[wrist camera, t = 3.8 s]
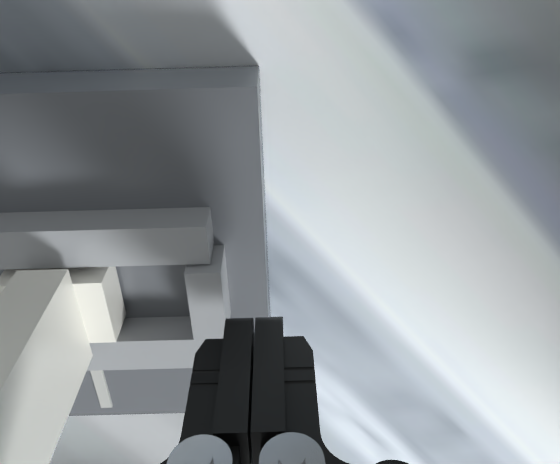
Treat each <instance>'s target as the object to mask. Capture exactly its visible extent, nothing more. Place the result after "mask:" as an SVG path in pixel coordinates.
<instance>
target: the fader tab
mask: <svg viewBox="0 0 560 464" xmlns="http://www.w3.org/2000/svg"><path fill="white" fill-rule="evenodd" d="M125 316H126V310H125V306H124V301H123V297H122V292H121V288H120V284H119V279H118V275H117V270H116V266H114V267H77V268H40V269H5V270H4V271H3V273H2V274H1V276H0V464H50V462H51V459H52V456H53V454H54V451H55V449H56V446H57V444H58V441H59V439H60V436H61V434H62V431H63V429H64V426H65V424H66V421H67V419H68V416H69V414H70V411H71V409H72V406H73V404H74V401H75V399H76V396H77V394H78V391H79V389H80V386H81V384H82V381H83V379H84V376H85V374H86V371H87V369H88V366H89V364H90V361H91V359H92V356H93V354H92V351H91V347H90V344H89V343H109V342H116V341H117V339H118V336H119V333H120V330H121V327H122V324H123V322H124V319H125Z"/></svg>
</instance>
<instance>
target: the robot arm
mask: <svg viewBox="0 0 560 464" xmlns="http://www.w3.org/2000/svg"><path fill="white" fill-rule="evenodd" d="M161 464H349V463H346V462H344V461H342V460H340V459H338V458H337V457H335V456H334V455H333V454H332V453H330V452H329V450H328V449H327V448H326V447H325V445H324V443H323V441H322V438H321V434H320V425H319V414H318V403H317V392H316V383H315V370H314V359H313V350H312V349H311V347H310V346H309V344H308V342H307V341H306V339H305V338H304V336H294V337H283V317H256V318H255V330H254V319H253V318H226V320H225V326H224V335H223V339H205V341H204V342H203V343H202V345H201V346H200V348H199V349H198V350H197V352H196V353H195V357H194V363H193V369H192V375H191V381H190V387H189V392H188V398H187V404H186V410H185V416H184V421H183V427H182V433H181V438H180V441H179V444H178V445H177V446H176V447H175V448H174V449H173V450H172V452H171V454H170V455H169V457H168V458H167V459H166V460H165V461H163V462H162V463H161ZM376 464H408V463H405V462H402V461H398V460H385V461H381V462H378V463H376Z"/></svg>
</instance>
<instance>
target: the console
mask: <svg viewBox="0 0 560 464" xmlns="http://www.w3.org/2000/svg"><path fill="white" fill-rule="evenodd" d="M114 266H116V270H117V275H118V279H119V284H120V288H121V292H122V297H123V301H124V306H125V310H126V316H125V319H124V322H123V324H122V327H121V330H120V333H119V336H118V339H117V341H116V342H109V343H89V344H90V347H91V351H92V354H93V356H92V359H91V361H90V364H89V366H88V369H87V371H86V374H85V376H84V379H83V381H82V384H81V386H80V389H79V391H78V394H77V396H76V399H75V401H74V404H73V406H72V409H71V411H70V414H69V416H82V415H121V414H159V413H185V410H186V404H187V398H188V392H189V387H190V381H191V375H192V369H193V363H194V357H195V353H196V352H197V350H198V349H199V348H200V346H201V345H202V343H203V342H204V341H205V339H223V335H224V326H225V320H226V318H253V319H254V330H255V318H256V317H270V298H269V276H268V254H267V232H266V210H265V188H264V165H263V143H262V121H261V99H260V77H259V66H239V67H204V68H169V69H134V70H99V71H63V72H28V73H0V276H1V274H2V273H3V271H4V270H5V269H40V268H77V267H114Z"/></svg>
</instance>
